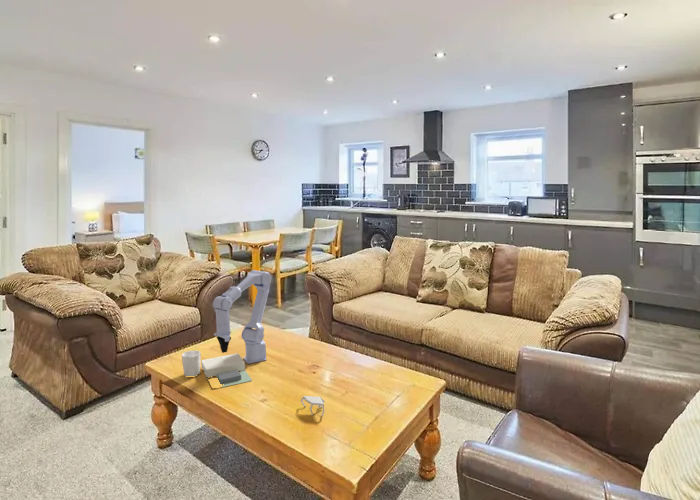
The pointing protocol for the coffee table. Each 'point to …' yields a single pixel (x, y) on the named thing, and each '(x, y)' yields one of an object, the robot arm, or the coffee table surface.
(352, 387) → the coffee table surface
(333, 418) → the coffee table surface
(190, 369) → the white cup
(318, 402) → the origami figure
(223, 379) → the gray rectangular block
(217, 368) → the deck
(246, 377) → the mat
